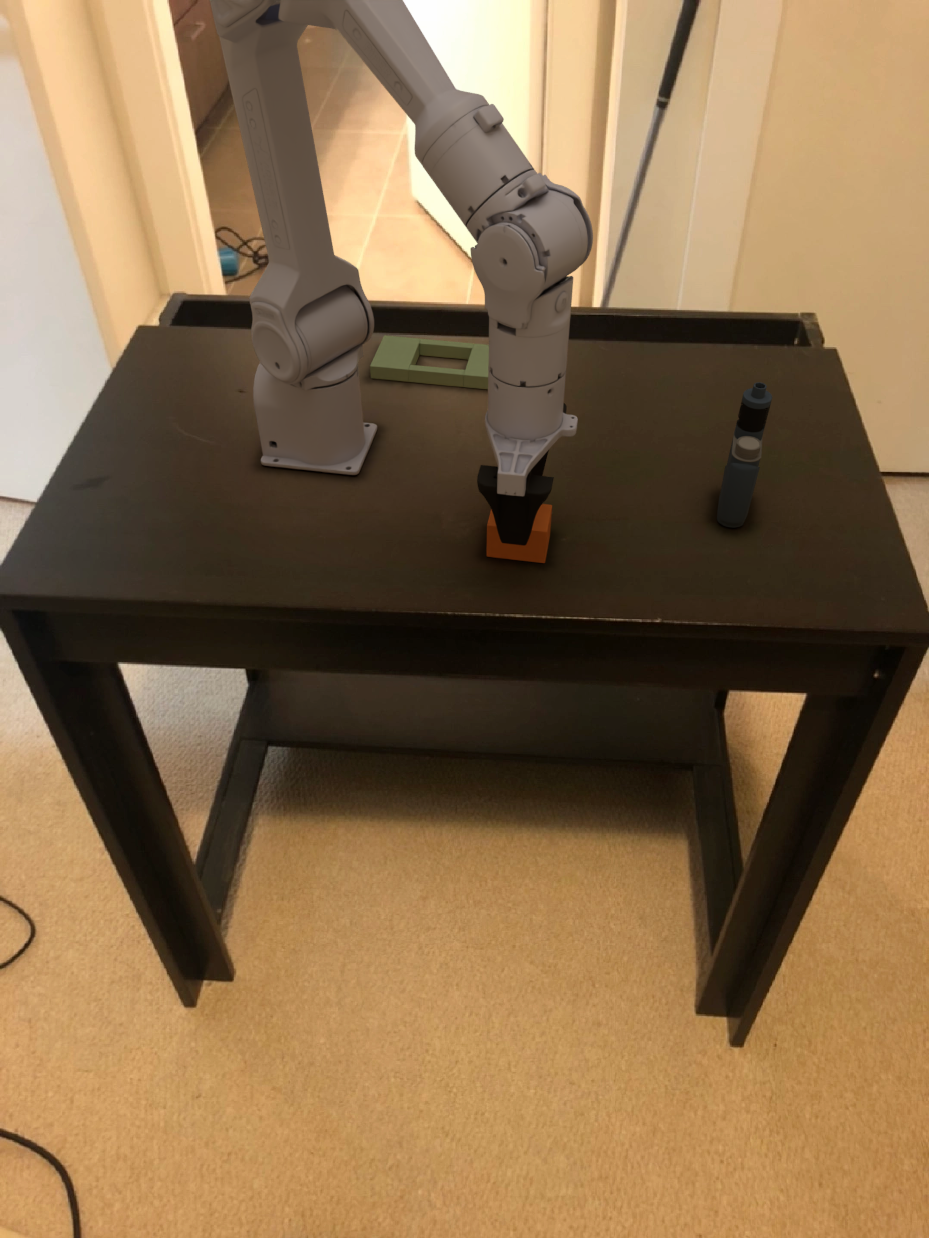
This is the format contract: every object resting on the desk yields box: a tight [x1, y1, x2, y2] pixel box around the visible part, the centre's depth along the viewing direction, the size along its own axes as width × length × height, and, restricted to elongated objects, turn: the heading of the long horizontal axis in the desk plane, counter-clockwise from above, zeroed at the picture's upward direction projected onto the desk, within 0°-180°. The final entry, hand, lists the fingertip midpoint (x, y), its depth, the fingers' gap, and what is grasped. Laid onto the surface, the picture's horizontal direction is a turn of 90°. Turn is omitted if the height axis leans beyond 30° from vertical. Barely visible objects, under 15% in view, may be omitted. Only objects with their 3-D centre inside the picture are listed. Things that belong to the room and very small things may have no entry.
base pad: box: [369, 334, 489, 390], centre depth 104 cm, size 14×6×2 cm, turn 80°
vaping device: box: [716, 381, 773, 529], centre depth 83 cm, size 3×5×12 cm, turn 166°
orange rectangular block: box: [486, 503, 553, 564], centre depth 83 cm, size 5×4×4 cm
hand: (520, 511), depth 82 cm, fingers open, 7 cm apart
